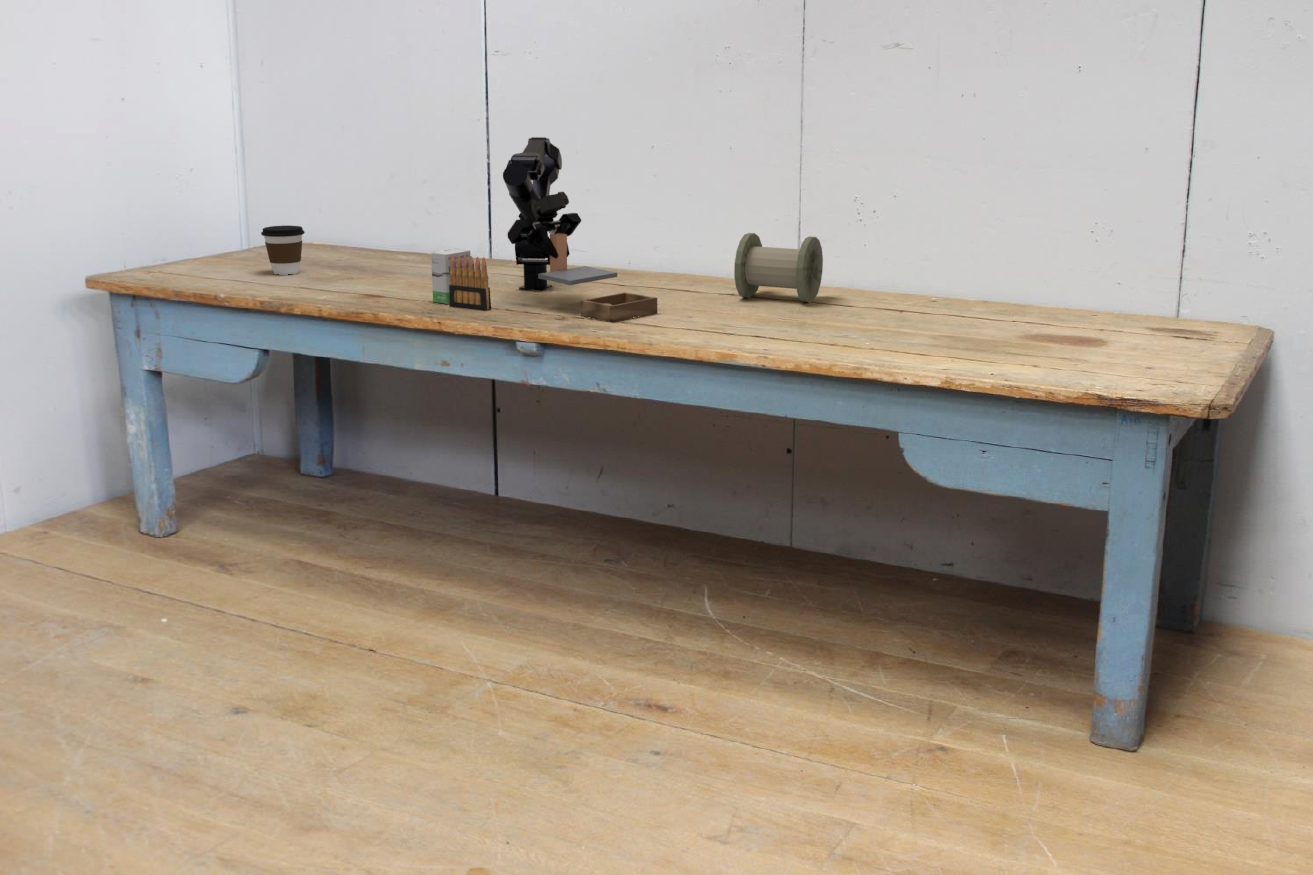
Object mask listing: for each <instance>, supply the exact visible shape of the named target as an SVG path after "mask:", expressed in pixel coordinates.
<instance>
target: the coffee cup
mask: <svg viewBox="0 0 1313 875" xmlns="http://www.w3.org/2000/svg"><path fill="white" fill-rule="evenodd" d="M305 233H306V232H305V230H304V229H303V227H302V226H301V225H272V226H267V227H263V228H262V231H261V236H263V237H264V243H265V248H266V252H267V256H268V260H269V263H270V265H271V269H272V272H273V273H274V275H275V274H279V275H278V276H289V275H288V274H294V275H298V274H299V272H300V268H301V265H300V264H301V261H302V250H303V248H302V247H303V235H304V234H305Z"/></svg>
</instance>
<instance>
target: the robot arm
mask: <svg viewBox="0 0 1313 875" xmlns="http://www.w3.org/2000/svg"><path fill="white" fill-rule="evenodd" d="M562 169H563V160H562V155H561V150H560V149H559V148H558V147H557V146H556V145H554V144H553V143H551V141H550V138H547V137H545V136H544V137H543V136H542V137H541V136H540V137H537V136H536V137H535V136H533V137H529V138H528V140H527V145H526V146H525V148H524V149H523V150H522V152H520V153H519V152H518V153H514V154H512V155H511V157H510V159H509V160H508V162H507V164H506V167H505V168H504V170H503V172H502V179H503V181H504V183H505V186H506V188H507V190H508V195H509V197H510V198H511V200H512V202H513V203H514V204H515V206H516V208H517V209H518V211H519V214H518V219H515V221H514V222H513V224H512V225H511V227H510V228H509V230H508V231H507V238H508V241H509V242H510V243H511V245H514V254H515V263H516V265H517V266H518V265H523V285H522V286H519V287H518V290H521V291H522V290H523V291H541V292H542V291H546V290H547V289H548V290H549V289H551V288H552V287H553V284H548V280H544V279H539V278H538V274H541V273H547V272H548V267H547V266H550V256H552V257H554V258H555V259H556V258H558V256H559V255H558V253H557V251H556V249H555V247H554V245H553V244H552V242H551V240H550V236H549V235H550V234H557V233H562V234H567V237H569V236H571V235H573V233H574V232H575V231H576V229H577V228H578V226H579V225H580V224H581V222H582V219H581V216H579V214H578V213H577V212H568V213H562V215H560V217H559V219H558V220H554V219H555V218H557V216H558V215H559V213H558V211H561V210H562V209H565V208H566V207H567V205H569V203H570V201H569V197H568V195H567V193H565V192H564V191H558V192H557V193H555V194H550V192H551V186H552V184H554V182H556V181H557V180H558V179H559V175H560V174H559V173H560V170H562ZM548 233H549V234H548ZM568 244H569V243H567V258H568V257H569V256H570V250H569V249H570V248H569V245H568Z"/></svg>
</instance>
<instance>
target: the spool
mask: <svg viewBox="0 0 1313 875" xmlns="http://www.w3.org/2000/svg"><path fill="white" fill-rule="evenodd" d="M821 244H822V243H821V241H820V239H819V238H817V236H811V235H810V236H807V237H805V238H804V240H803V241H802V242H801V245H800V248H789V247H788V248H786V247H769V246H763V244H762V241H761V239H760V236H758V234H756V233H754V232H748V233H745V234H743V236H742V237H741V239H740V240H739V243H738V245H737V248H736V253H735V258H734V275H733V276H734V282H735V283H734V284H735V288H736V291H737V293H738V295H739V296H740V297H741V298H743V297H744V299H750V298H752V297H751V296H752V295H754V296H755V295H756V294H757V292H758V290H759V287H767V288H768V287H769V288H779V289H791V290H792V289H794V290H796V294H797V295H798V299H799V301H801V303H804V302H808V304H810V303H812V302H813V300H814V299H816V298H817V296H818V293H819V291H820V288H821V285H822V284H821V283H822V278H823V277H822V276H823V270H824V269H823V268H824V267H823V264H824V257H823V247H822V245H821ZM749 297H750V298H749ZM814 301H815V300H814ZM809 302H810V303H809Z"/></svg>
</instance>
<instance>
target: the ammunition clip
mask: <svg viewBox="0 0 1313 875" xmlns="http://www.w3.org/2000/svg"><path fill="white" fill-rule="evenodd" d="M481 259H482V260H480V258H479V256H476V258H475V261H474V258H473V256H472V255H470V260H469V268H468V261H467V257H466V256H464V259H463V270H462V261H461V257H460V255H458V257H457V271H456V262H455V258H454V255H453V254H452V256H451V263H450V265H451V267H450V285H449V304H448V305H449V308H458V309H467V310H474V311H481V312H482V311H484V312H487V311H491V310H492V302H491V301H492V299H491V287H490V286H489V275H488V269H487V261H486V258H485V257H482V258H481Z"/></svg>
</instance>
